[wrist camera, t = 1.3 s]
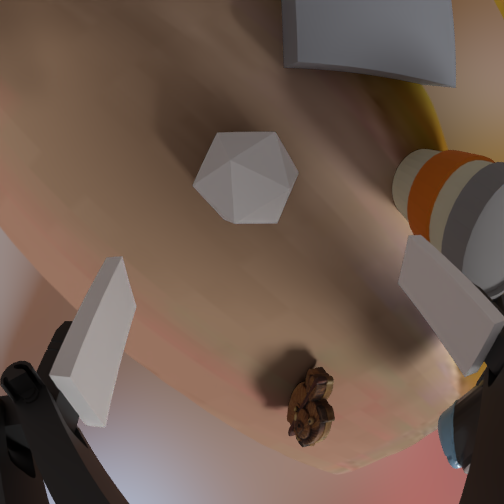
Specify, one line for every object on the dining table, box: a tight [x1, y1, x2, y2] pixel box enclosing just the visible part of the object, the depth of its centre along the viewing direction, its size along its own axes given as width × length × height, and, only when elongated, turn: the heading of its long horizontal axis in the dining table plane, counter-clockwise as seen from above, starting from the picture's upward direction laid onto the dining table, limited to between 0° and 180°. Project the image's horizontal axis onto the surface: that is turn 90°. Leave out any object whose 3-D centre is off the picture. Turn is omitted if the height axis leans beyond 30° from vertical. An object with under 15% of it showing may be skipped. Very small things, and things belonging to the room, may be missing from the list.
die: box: [192, 132, 299, 224], centre depth 26 cm, size 8×9×10 cm
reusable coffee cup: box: [392, 149, 504, 299], centre depth 26 cm, size 13×13×15 cm
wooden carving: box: [287, 367, 335, 447], centre depth 43 cm, size 16×5×10 cm, turn 174°
